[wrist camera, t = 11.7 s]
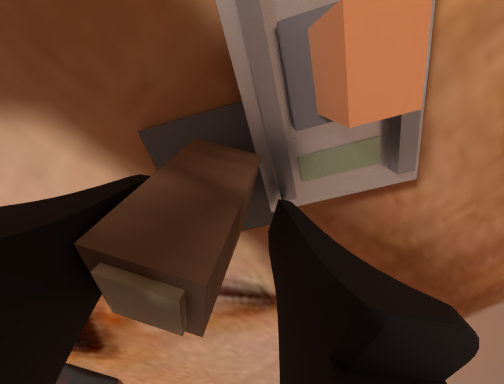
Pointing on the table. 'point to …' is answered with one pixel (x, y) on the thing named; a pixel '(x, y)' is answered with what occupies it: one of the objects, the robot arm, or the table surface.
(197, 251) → the brown rectangular block
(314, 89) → the lever
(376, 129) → the breaker panel
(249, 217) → the rubber pad
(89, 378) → the computer mouse
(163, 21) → the table surface
